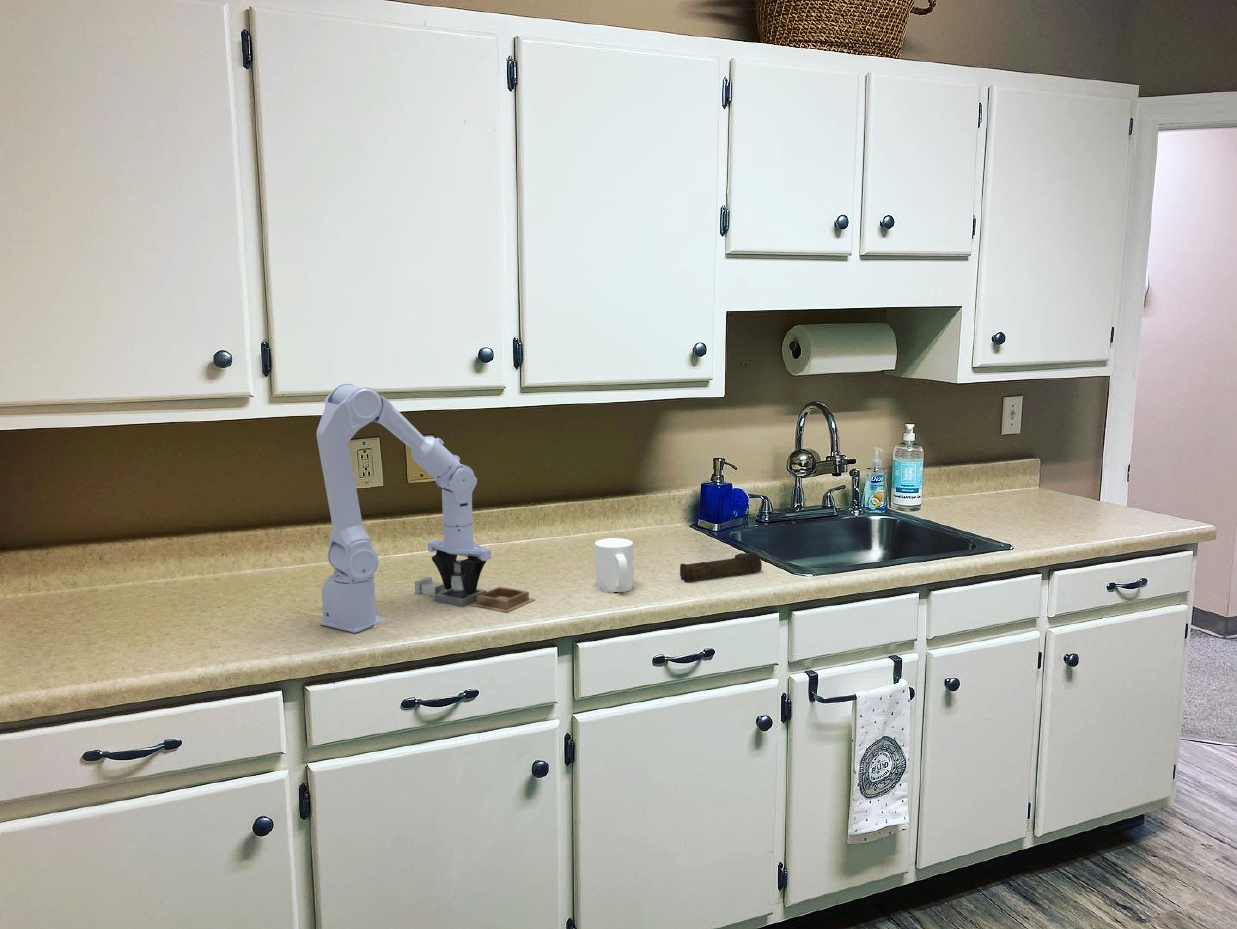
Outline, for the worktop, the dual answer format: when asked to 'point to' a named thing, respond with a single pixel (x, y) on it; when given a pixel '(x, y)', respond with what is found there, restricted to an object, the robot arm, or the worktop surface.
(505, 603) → the brown square tray
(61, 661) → the worktop surface
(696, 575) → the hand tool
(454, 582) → the stepped metal cylinder
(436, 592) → the grey stepped block
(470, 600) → the grey square tray
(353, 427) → the robot arm
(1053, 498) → the worktop surface
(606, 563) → the mug
